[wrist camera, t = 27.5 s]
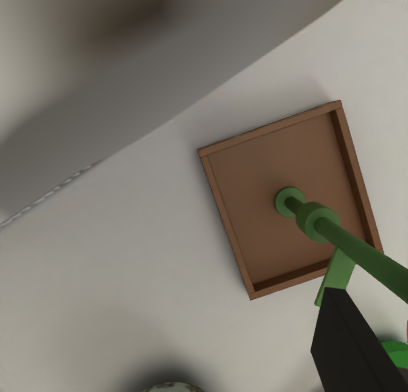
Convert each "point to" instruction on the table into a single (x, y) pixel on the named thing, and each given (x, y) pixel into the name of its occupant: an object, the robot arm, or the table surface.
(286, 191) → the flower
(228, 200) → the tray
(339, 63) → the table surface
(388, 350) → the tree
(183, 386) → the bowl
